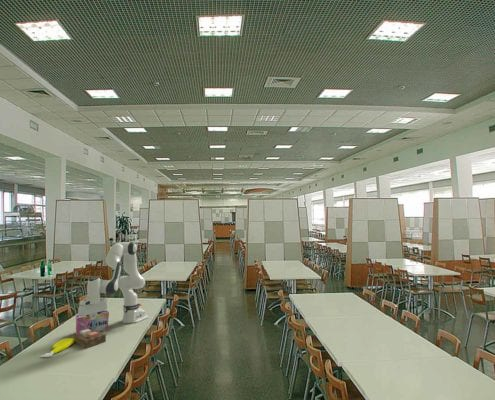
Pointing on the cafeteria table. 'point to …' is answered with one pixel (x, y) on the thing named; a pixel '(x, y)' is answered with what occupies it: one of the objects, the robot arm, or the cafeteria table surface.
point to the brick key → (92, 334)
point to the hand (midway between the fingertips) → (92, 319)
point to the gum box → (92, 322)
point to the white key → (85, 332)
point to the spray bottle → (60, 346)
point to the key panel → (89, 339)
